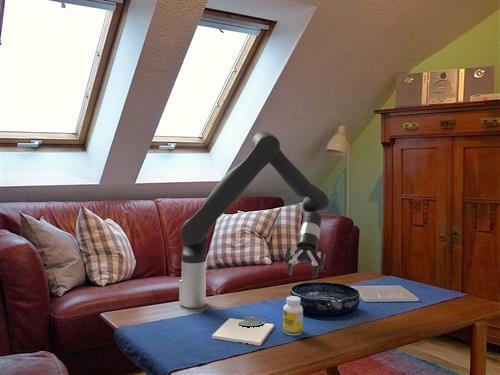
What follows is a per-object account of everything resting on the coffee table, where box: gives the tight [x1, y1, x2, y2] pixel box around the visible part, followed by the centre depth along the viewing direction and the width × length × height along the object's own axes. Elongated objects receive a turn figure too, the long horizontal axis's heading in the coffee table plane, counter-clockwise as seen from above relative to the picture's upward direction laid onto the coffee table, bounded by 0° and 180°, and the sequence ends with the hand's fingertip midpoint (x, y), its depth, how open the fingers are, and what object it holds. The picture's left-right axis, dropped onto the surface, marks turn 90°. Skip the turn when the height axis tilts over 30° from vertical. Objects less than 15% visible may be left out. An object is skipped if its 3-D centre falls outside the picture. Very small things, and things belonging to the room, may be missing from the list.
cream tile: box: [211, 317, 275, 346], centre depth 161 cm, size 16×16×1 cm
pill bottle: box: [282, 295, 304, 336], centre depth 162 cm, size 6×6×12 cm
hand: (301, 275), depth 172 cm, fingers open, 8 cm apart
